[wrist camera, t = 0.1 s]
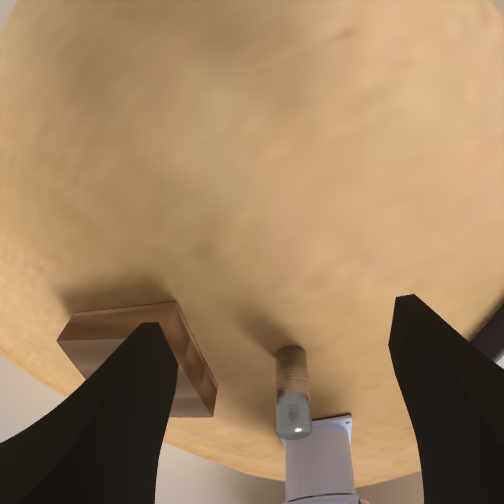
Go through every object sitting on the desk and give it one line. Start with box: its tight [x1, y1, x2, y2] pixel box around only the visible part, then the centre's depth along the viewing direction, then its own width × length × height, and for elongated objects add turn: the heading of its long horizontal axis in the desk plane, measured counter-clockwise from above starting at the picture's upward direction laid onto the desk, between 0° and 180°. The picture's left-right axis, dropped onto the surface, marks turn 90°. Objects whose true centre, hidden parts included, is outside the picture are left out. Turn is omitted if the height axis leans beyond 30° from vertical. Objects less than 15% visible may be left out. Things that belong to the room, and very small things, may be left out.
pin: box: [276, 346, 313, 440], centre depth 21 cm, size 2×2×7 cm
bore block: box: [56, 301, 218, 417], centre depth 23 cm, size 10×10×4 cm
